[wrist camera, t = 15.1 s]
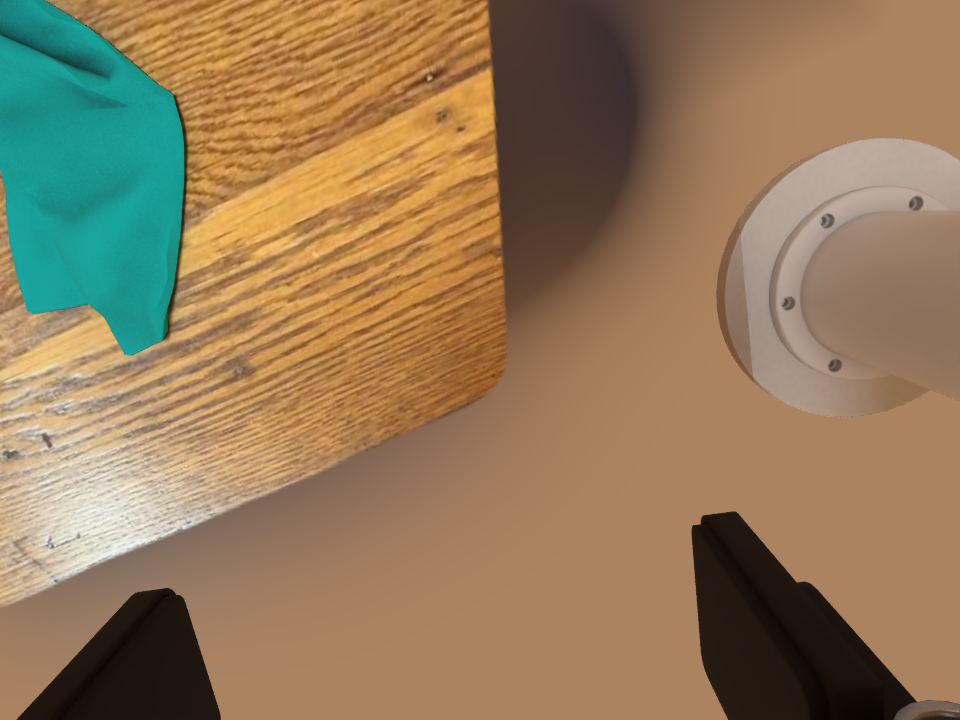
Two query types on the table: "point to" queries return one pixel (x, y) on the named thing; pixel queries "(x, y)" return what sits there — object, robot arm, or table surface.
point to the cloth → (88, 173)
